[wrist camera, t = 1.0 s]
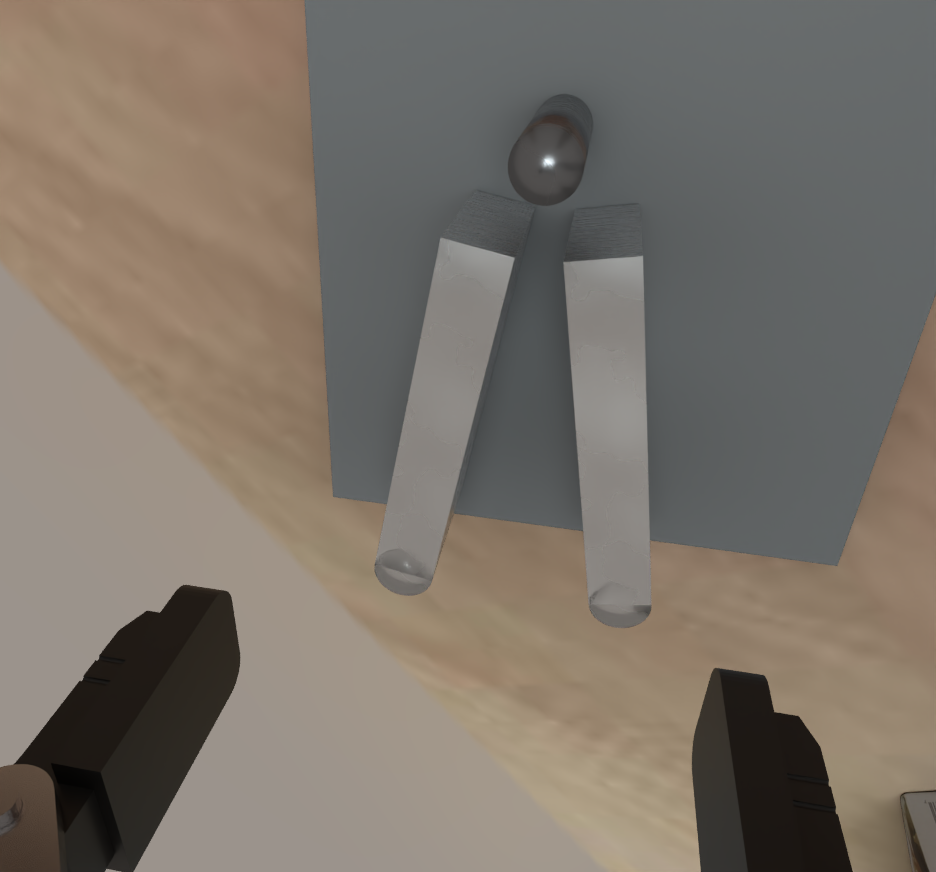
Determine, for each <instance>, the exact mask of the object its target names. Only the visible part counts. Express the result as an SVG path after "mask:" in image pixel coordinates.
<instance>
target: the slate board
mask: <svg viewBox="0 0 936 872" xmlns="http://www.w3.org/2000/svg"><path fill="white" fill-rule="evenodd" d="M305 16H306V34H307V51H308V68H309V86H310V103H311V120H312V138H313V155H314V173H315V190H316V207H317V225H318V242H319V260H320V277H321V294H322V312H323V329H324V347H325V364H326V381H327V399H328V416H329V433H330V451H331V468H332V486H333V497H338V498H346V499H353V500H360V501H367V502H375V503H382V504H387V502H388V497H389V492H390V487H391V482H392V477H393V472H394V467H395V462H396V457H397V452H398V447H399V442H400V437H401V432H402V427H403V422H404V417H405V412H406V407H407V402H408V397H409V392H410V388H411V383H412V378H413V373H414V368H415V363H416V358H417V353H418V348H419V343H420V338H421V333H422V328H423V323H424V318H425V313H426V308H427V303H428V298H429V293H430V288H431V283H432V278H433V273H434V268H435V263H436V258H437V253H438V248H439V243H440V238H441V236H442V235H443V234H444V232H445V231H446V229H447V228H448V227H449V225H450V224H451V223H452V221H453V220H454V218H455V217H456V216H457V214H458V213H459V212H460V210H461V209H462V207H463V206H464V205H465V203H466V202H467V201H468V199H469V198H470V196H471V195H472V194H473V192H474V191H475V190H478V191H481V192H485V193H489V194H493V195H496V196H500V197H504V198H508V199H511V200H515V201H519V202H522V203H526V204H530V205H534V206H535V210H534V214H533V218H532V221H531V225H530V229H529V233H528V237H527V240H526V244H525V248H524V252H523V256H522V260H521V263H520V267H519V271H518V275H517V279H516V283H515V286H514V290H513V294H512V298H511V302H510V306H509V309H508V313H507V317H506V321H505V325H504V328H503V332H502V336H501V340H500V344H499V348H498V351H497V355H496V359H495V363H494V367H493V371H492V374H491V378H490V382H489V386H488V390H487V393H486V397H485V401H484V405H483V409H482V413H481V416H480V420H479V424H478V428H477V432H476V436H475V439H474V443H473V447H472V451H471V455H470V459H469V462H468V466H467V470H466V474H465V478H464V481H463V485H462V489H461V492H460V496H459V499H458V502H457V505H456V508H455V511H454V513H455V514H462V515H469V516H477V517H484V518H491V519H499V520H506V521H513V522H521V523H528V524H535V525H542V526H550V527H557V528H564V529H572V530H579V531H583V520H582V507H581V493H580V480H579V466H578V453H577V439H576V426H575V412H574V399H573V385H572V372H571V358H570V345H569V331H568V318H567V304H566V291H565V277H564V264H563V262H564V257H565V253H566V248H567V244H568V239H569V235H570V230H571V226H572V221H573V217H574V212H575V209H584V208H595V207H606V206H617V205H628V204H639V203H640V217H641V233H642V248H643V276H644V318H645V359H646V401H647V443H648V485H649V527H650V540H652V541H659V542H666V543H674V544H681V545H688V546H695V547H703V548H710V549H717V550H725V551H732V552H739V553H747V554H754V555H761V556H768V557H776V558H783V559H790V560H798V561H805V562H812V563H819V564H827V565H834V566H837V565H838V562H839V559H840V557H841V554H842V551H843V548H844V546H845V543H846V540H847V537H848V535H849V532H850V529H851V526H852V524H853V521H854V518H855V515H856V513H857V510H858V507H859V504H860V502H861V499H862V496H863V493H864V491H865V488H866V485H867V482H868V480H869V477H870V474H871V471H872V468H873V466H874V463H875V460H876V457H877V455H878V452H879V449H880V446H881V444H882V441H883V438H884V435H885V433H886V430H887V427H888V424H889V422H890V419H891V416H892V413H893V411H894V408H895V405H896V402H897V400H898V397H899V394H900V391H901V389H902V386H903V383H904V380H905V378H906V375H907V372H908V369H909V367H910V364H911V361H912V358H913V355H914V353H915V350H916V347H917V344H918V342H919V339H920V336H921V333H922V331H923V328H924V325H925V322H926V320H927V317H928V314H929V311H930V309H931V306H932V303H933V300H934V298H935V295H936V0H305ZM560 94H569V95H573V96H576V97H578V98H580V99H581V100H582V101H583V102H585V104H586V105H587V106H588V108H589V109H590V111H591V114H592V118H593V132H592V136H591V141H590V145H589V150H588V154H587V159H586V163H585V168H584V173H583V177H582V180H581V182H580V184H579V186H578V188H577V189H576V191H575V192H574V193H573V194H572V195H571V196H570V197H569V198H567V199H566V200H565V201H563V202H561V203H558V204H555V205H551V206H540V205H535V204H532V203H530V202H528V201H526V200H524V199H523V198H522V197H521V196H520V195H519V194H518V193H517V192H516V191H515V189H514V188H513V186H512V184H511V182H510V179H509V175H508V159H509V155H510V152H511V150H512V148H513V146H514V144H515V143H516V141H517V140H518V138H519V137H520V135H521V134H522V133H523V131H524V130H525V128H526V127H527V125H528V124H529V122H530V121H531V119H532V118H533V117H534V115H535V114H536V112H537V111H538V109H539V108H540V107H541V105H542V104H543V103H544V102H545V101H546V100H548V99H549V98H551V97H553V96H556V95H560Z"/></svg>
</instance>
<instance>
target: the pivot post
mask: <svg viewBox="0 0 936 872" xmlns="http://www.w3.org/2000/svg"><path fill="white" fill-rule="evenodd" d="M592 132H593V118H592V114H591V111H590V109H589V108H588V106H587V105H586V104H585V102H583V101H582V100H581V99H580V98H578V97H576V96H573V95H569V94H560V95H556V96H553V97H551V98H549V99H548V100H546V101H545V102H544V103H543V104H542V105H541V107H540V108H539V109H538V111H537V112H536V114H535V115H534V117H533V118H532V119H531V121H530V122H529V124H528V125H527V127H526V128H525V130H524V131H523V133H522V134H521V135H520V137H519V138H518V140H517V141H516V143H515V144H514V146H513V148H512V150H511V152H510V155H509V159H508V175H509V179H510V182H511V184H512V186H513V188H514V189H515V191H516V192H517V193H518V194H519V195H520V196H521V197H522V198H523V199H524V200H526V201H528V202H530V203H532V204H535V205H540V206H551V205H555V204H558V203H561V202H563V201H565V200H566V199H567V198H569V197H570V196H571V195H572V194H573V193H574V192H575V191H576V189H577V188H578V186H579V184H580V182H581V180H582V177H583V173H584V168H585V163H586V159H587V154H588V150H589V145H590V141H591V136H592Z"/></svg>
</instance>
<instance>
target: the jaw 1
mask: <svg viewBox="0 0 936 872" xmlns="http://www.w3.org/2000/svg"><path fill="white" fill-rule="evenodd" d="M534 210H535V206H534V205H530V204H526V203H522V202H519V201H515V200H511V199H508V198H504V197H500V196H496V195H493V194H489V193H485V192H481V191H478V190H475V191H474V192H473V194H472V195H471V196H470V198H469V199H468V201H467V202H466V203H465V205H464V206H463V207H462V209H461V210H460V212H459V213H458V214H457V216H456V217H455V218H454V220H453V221H452V223H451V224H450V225H449V227H448V228H447V229H446V231H445V232H444V234H443V235H442V236H441V238H440V243H439V248H438V253H437V258H436V263H435V268H434V273H433V278H432V283H431V288H430V293H429V298H428V303H427V308H426V313H425V318H424V323H423V328H422V333H421V338H420V343H419V348H418V353H417V358H416V363H415V368H414V373H413V378H412V383H411V388H410V392H409V397H408V402H407V407H406V412H405V417H404V422H403V427H402V432H401V437H400V442H399V447H398V452H397V457H396V462H395V467H394V472H393V477H392V482H391V487H390V492H389V497H388V502H387V507H386V512H385V517H384V522H383V527H382V532H381V537H380V542H379V547H378V552H377V557H376V562H375V574H376V576H377V578H378V580H379V581H380V583H381V584H382V585H383V586H384V587H386V588H387V589H388V590H390V591H392V592H394V593H397V594H400V595H408V596H410V595H417V594H420V593H422V592H424V591H425V590H426V589H428V587H429V586H430V584H431V582H432V579H433V576H434V573H435V570H436V567H437V564H438V560H439V557H440V554H441V551H442V548H443V545H444V542H445V539H446V536H447V533H448V530H449V526H450V523H451V520H452V517H453V514H454V511H455V508H456V505H457V502H458V499H459V496H460V492H461V489H462V485H463V481H464V478H465V474H466V470H467V466H468V462H469V459H470V455H471V451H472V447H473V443H474V439H475V436H476V432H477V428H478V424H479V420H480V416H481V413H482V409H483V405H484V401H485V397H486V393H487V390H488V386H489V382H490V378H491V374H492V371H493V367H494V363H495V359H496V355H497V351H498V348H499V344H500V340H501V336H502V332H503V328H504V325H505V321H506V317H507V313H508V309H509V306H510V302H511V298H512V294H513V290H514V286H515V283H516V279H517V275H518V271H519V267H520V263H521V260H522V256H523V252H524V248H525V244H526V240H527V237H528V233H529V229H530V225H531V221H532V218H533V214H534Z"/></svg>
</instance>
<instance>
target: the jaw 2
mask: <svg viewBox="0 0 936 872" xmlns="http://www.w3.org/2000/svg"><path fill="white" fill-rule="evenodd" d="M563 264H564V277H565V291H566V304H567V318H568V331H569V345H570V358H571V372H572V385H573V399H574V412H575V426H576V439H577V453H578V466H579V480H580V493H581V507H582V520H583V533H584V547H585V560H586V574H587V587H588V601H589V608H590V611H591V613H592V614H593V616H594V617H595V618H596V619H597V620H599V621H600V622H602V623H603V624H605V625H608V626H611V627H616V628H627V627H632V626H635V625H638V624H640V623H641V622H643V621H644V620H645V619H646V618H647V617H648V615H649V614H650V611H651V568H650V527H649V485H648V443H647V401H646V359H645V318H644V276H643V248H642V233H641V217H640V203H639V204H628V205H617V206H606V207H595V208H584V209H575V212H574V217H573V221H572V226H571V230H570V235H569V239H568V244H567V248H566V253H565V257H564V262H563Z"/></svg>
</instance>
